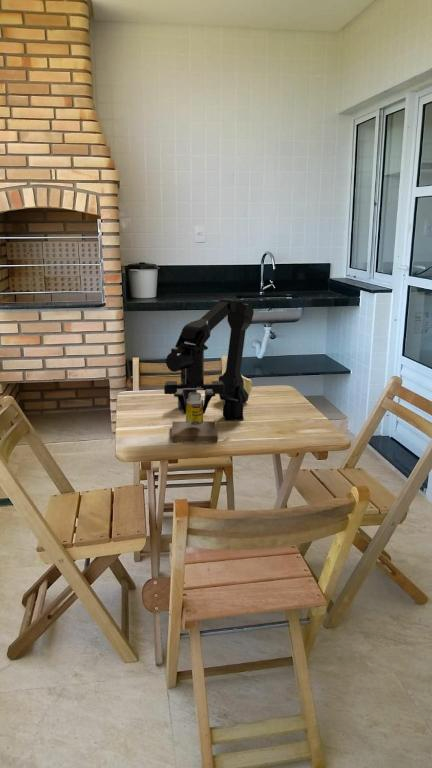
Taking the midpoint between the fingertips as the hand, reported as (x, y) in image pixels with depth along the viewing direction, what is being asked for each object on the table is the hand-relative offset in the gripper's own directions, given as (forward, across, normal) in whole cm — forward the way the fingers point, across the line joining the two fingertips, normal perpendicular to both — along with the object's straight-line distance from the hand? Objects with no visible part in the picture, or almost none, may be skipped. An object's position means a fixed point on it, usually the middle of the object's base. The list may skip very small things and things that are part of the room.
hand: (194, 413), depth 186 cm
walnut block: (+7, 0, 0) cm, 7 cm away
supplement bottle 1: (+7, +2, -28) cm, 29 cm away
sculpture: (+7, -16, -36) cm, 40 cm away
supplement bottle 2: (+4, 0, 0) cm, 4 cm away
